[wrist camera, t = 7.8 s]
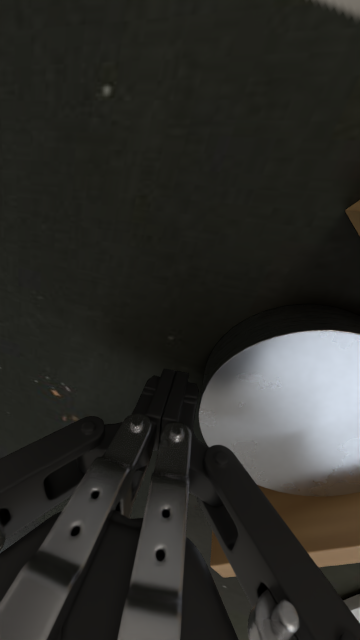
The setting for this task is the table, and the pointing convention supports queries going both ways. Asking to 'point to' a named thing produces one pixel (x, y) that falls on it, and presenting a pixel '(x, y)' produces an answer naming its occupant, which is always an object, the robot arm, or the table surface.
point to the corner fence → (314, 512)
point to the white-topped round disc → (289, 399)
